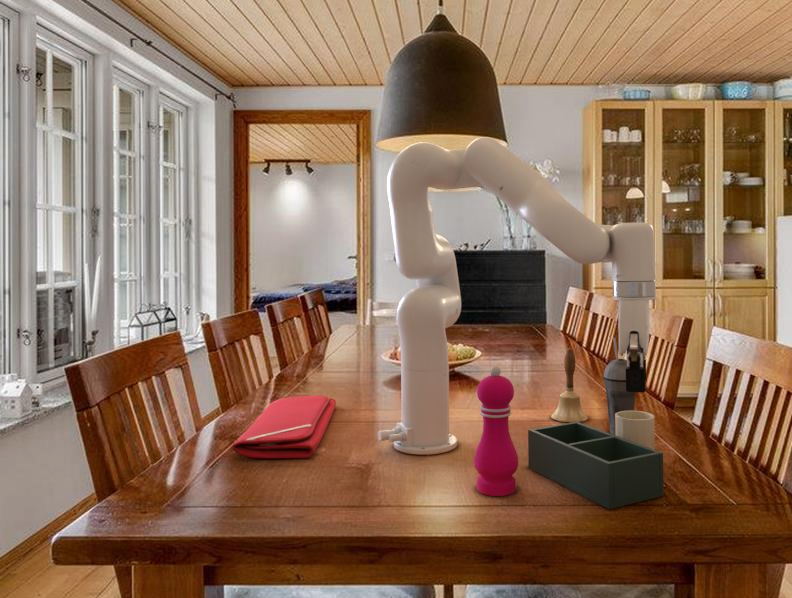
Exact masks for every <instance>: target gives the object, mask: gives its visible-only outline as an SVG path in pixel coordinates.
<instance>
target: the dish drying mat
mask: <svg viewBox="0 0 792 598" xmlns="http://www.w3.org/2000/svg"><path fill="white" fill-rule="evenodd" d="M336 405H337V401H336V399H334V398H331V397H329V396H326V395H317V394H316V395H295V396H288V397H287V396H286V397H282V398H279V399H275V400H274V401H272V402H271V403H270V404H269V405H268V406H267V407H266V408H265V409H264V410H263V411H262V412H261V414H260V415H259V416H258V417H257V418H256V420H255V421H253V423H252V424H251V425H250V426H249V427H248V428H247V429H246V431H245V432H244V433H243V434H242V435H241V436H240V437H239V438H238V439H237V440H236V441H235V442H234V443H233V444H232V445H231V446H232V447H231V448H232V450H233V452H235V453H237V454H239V455H241V456H244V457H248V458H254V459H308V458H311V457H312V456H313V455H314V453H315V452H316V449H317V448H318V446H319V445H320V443H321V441H322V439H323V438H324V437H323V436H324V435H325V433H326V429H327V428H328V426H329V423H330V421H331V419H332V416H333V415H334V412H335V408H336Z"/></svg>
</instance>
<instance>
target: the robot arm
mask: <svg viewBox="0 0 792 598" xmlns="http://www.w3.org/2000/svg"><path fill="white" fill-rule="evenodd" d="M480 187H481V188H482V187H484V188H485V189H486V190H487V191H489V192H490V193H491V194H492V195H494V196H495V197H496V198H498V199H499V200H500V201H502V202H503V203H504V204H505V205H506V206H507V207H508V208H509V209H511V210H512V211H513V212H514V213H516V215H517V216H519V217H520V218H521V219H522V221H525V222H526V223H527V224H528V225H530V226H531V227H532V228H533V229H534V230H536V232H538V233H539V234H540V235H541V236H542V237H543V238H545V239H546V240H547V241H548V242H550V244H552V245H553V246H554V247H555V248H557V249H558V250H559V251H560V252H561V253H563V254H564V255H565V256H567V257H568V258H569V259H571V260H572V261H574V262H576V263H578V264H581V265H593V264H597V263H598V264H599V263H603V262H611V278H612V279H611V280H612V299H613V300H616V301H618V308H617V310H618V312H617V318H618V319H617V320H618V322H617V324H618V325H617V326H618V328H617V329H618V356H621V357H623V356H624V354H626V360H627V368H626V391H627V392H636V393H639V394H640V393H642V394H643V393H646V381H647V359H646V358H645V357H646V356H647V355H648V350H649V344H650V343H649V342H650V301H654V300H657V289H656V288H657V286H656V284H657V281H656V253H655V252H656V251H655V250H656V249H655V248H656V247H655V230H654V227H653V225H652V224H651V223H650V222H649V223H648V222H643V221H642V222H639V221H638V222H637V221H636V222H620V223H616V224H614V225H613V224H612V225H611V224H601V223H595V222H594V221H593V220H592V219H590V218H588V216H586V215H585V214H584V213H582V212H581V211H580V210H578V208H576V207H575V206H573V205H572V204H571V203H570V202H569V201H567V200H566V199H565V198H564V197H563V196H562V195H560V194H559V193H558V192H557V191H556V190H555V188H554V187H553V185H552V184H551V182H550V181H549V180H548V179H547V178H546V177H544V176H543V175H542V174H541V173H540V172H538V171H537V170H535V169H534V168H533V167H532V166H530V165H528V163H527V162H525V161H523V160H522V159H521V158H520V157H519V156H517V155H516V154H515V153H513V152H512V151H511V150H510V148H508V146H507V145H505V144H503V143H502V142H501V141H498V140H497V139H495V138H493V137H489V136H483V137H478V138H475V139H474V140H472V141H471V142H470V143H469V144H468V145H467V147H464V148H454V149H447V148H445V147H443V146H440V145H438V144H435V143H432V142H427V141H421V142H415V143H412V144H409V145H408V146H407V147H405V148H403V149H402V150H401V151H400V152H399V153H398V154H397V155H396V156H395V158H394V159H393V160H392V162H391V164H390V166H389V169H388V172H387V178H386V194H387V199H388V206H389V213H390V222H391V231H392V233H391V234H392V239H393V247H394V257H395V261H396V262H395V263H396V267H397V269H398V271H399V273H400V274H401V275H402V276H403V277H405V278H406V279H409V280H414V281H415V285H416V287H414V288H412V289H410V290H408V291H407V292H406V293H404V295H403V296H402V297H401V299H400V300H399V302H398V306H397V308H396V309H397V310H396V325H397V330H398V336H399V337H398V338H399V345H400V390H401V392H400V399H401V400H400V404H401V407H400V408H401V409H400V410H401V411H400V412H401V415H400V419H401V421H400V422H396V426H394V427H393V428H392V429H384V430H379V431H377V440H378V441H379V442H384V441H389V442H390V443H393V447H394V449H395V450H397V451H398V452H401V453H404V454H409V455H417V456H419V455H421V456H426V455H427V456H428V455H429V456H430V455H438V454H443V453H447V452H450V451H453V450H454V449H456V448H457V446H458V439H457V437H456V436H455V435H453V434H451V433H450V365H449V364H450V363H449V360H450V359H449V345H448V340H447V339H448V338H447V333H446V329H447V328H450V327H451V326H453V325H454V324H455V323H456V322H457V321H458V319H459V318H460V315H461V312H462V295H461V289H460V280H459V275H458V274H459V273H458V267H457V259H456V255H455V251H454V249H453V247H452V245H451V243H450V242H449V241H448V240H447V239H446V238H445V237H444V236H442V235H440V234H437V232H436V228H435V221H434V211H433V207H432V204H431V200H430V197H429V193H428V192H429V188H431V189H435V190H441V191H443V190H445V191H446V190H448V191H449V190H459V189H470V188H480Z"/></svg>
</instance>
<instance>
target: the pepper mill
mask: <svg viewBox="0 0 792 598" xmlns="http://www.w3.org/2000/svg"><path fill="white" fill-rule="evenodd" d="M501 372H502V370H501V368H500V367H499V366H498V365H493V366H492V367H490V369H489V374H490V375H488V376H485V377H483V378H482V379H481V380H480V381H479V382H478V384H477V388H476V395H477V398H478V400H479V402H480V403H481V405H480V407H479V408H480V412H479V413H480V415H481V416H482V422H483V425H482V433H481V437H480V440H479V443H478V445H477V447H476V450H475V453H474V456H473V466H474V469H475V470H476V472H477V473H478V474H479V475H478V476H477V478H476V489H477V491H478V492H479V493H480V494H482V495H485V496H489V497H504V496H505V497H506V496H508V495H512V494H513V493H514V492H515V491H516V489H517V488H516V486H517V485H516V483H517V482H516V480H517V479H516V478H515V476H514V474H515V473H516V471H517V470H518V469H519V456H518V451H517V450H516V449H517V448H516V447H515V445H514V442H513V440H512V438H511V433H510V430H509V429H510V428H509V427H510V426H509V417H510V416H511V415H512V412H511V409H512V406H511V405H510V403H511V402H512V401H513V399H514V396H515V389H514V385H513V383H512V382H511V380H509V378H507V377H506V376H503V375H501Z"/></svg>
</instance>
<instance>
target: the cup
mask: <svg viewBox="0 0 792 598" xmlns="http://www.w3.org/2000/svg"><path fill="white" fill-rule="evenodd" d="M655 418H656V417H655V414H653V413H651V412H647V411H642V410H634V411H632V410H631V411H620V412H617V413H616V414H615V436H618V437H621V438H624V439H626V440H629V441H632V442H635V443H637V444H640V445H643V446H646V447H648V448H651V449H654V450H656V423H655V422H656V421H655Z"/></svg>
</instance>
